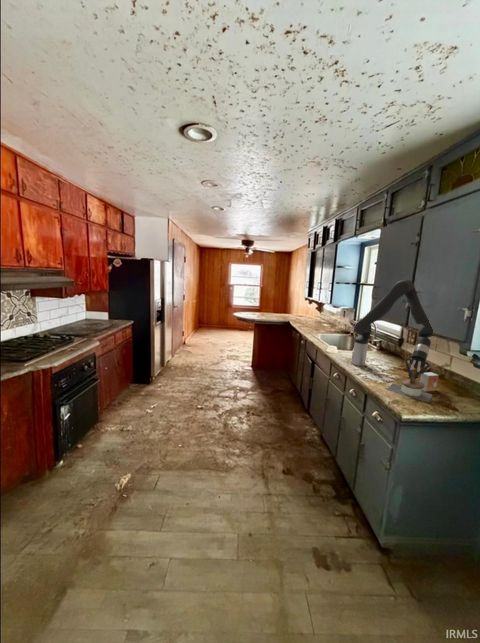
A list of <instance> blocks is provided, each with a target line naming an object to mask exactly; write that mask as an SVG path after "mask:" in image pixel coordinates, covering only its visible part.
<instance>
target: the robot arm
mask: <svg viewBox="0 0 480 643" xmlns="http://www.w3.org/2000/svg"><path fill="white" fill-rule="evenodd" d="M403 296H405V297H406V299H407V302H408V304H409V309H410V313H411V316H412V318H413V320H414V322H415V324H416V325H422V327H420V328H419V329H418V331H417V341H416V345H415V347H414V350H413V352H412V354H411V358H410V359H409V360H406V359H404V364H405V367H406V370H407V372H408V371H409V372H408V377H409V379H410V378H411V374H412V370H413V371H415V368H416V371H417V372H416V374H415V379H416V380H417V379H418V378H419V376H420V375H421V374H423V373H427V371H428V370H430V368H431V367H430V365H429V364H427V363H426V361H427V358H428V356H429V351H430V347H431V343H432V342H431V339H430V338H431V337H434V335H433V334H432V333H433V329H432V327H431V325H430V323H429V320H430V319H429V318H428V316H427V314H426V311H425V310H424V308H423V305H422V304H421V302H420V299H419V296H418V293H417V290H416V286H415V284H414V282H413V281H412V280H410V279H402V280H398V281H397V282H396V283H395V284H394V285H393V287H392V288H391V289H390V290H389V292H388V293H386V295H384V297H382V298H381V299H380V300H379V301H378V302H377V303H376V304H374V306H373V308H371V309H370V310H369V311H368V312H367V314H366V315H365V316H364V317H362V318H361V319H360V320H359V321H358V320H357V322H356V323H355V325H354V327H353V330H354V333H356V334H357V336H356V337H355V338H354V346H353V351H352V355H351V361H350V364H352V365H354V366H359V367H365V366H366V360H367V355H368V354H367V352H368V348H369V347H368V346H369V341H370V339H371V334H372V324H373V323H376V322H377V321H378V320H381V319H382V318H384V317H385V316H386V315H387V314H388V313H390V311H391V310H392V308H393V306H394V304H395V303H396V302H397V301H398V300H399V299H400V298H401V297H403ZM428 319H429V320H428Z"/></svg>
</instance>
